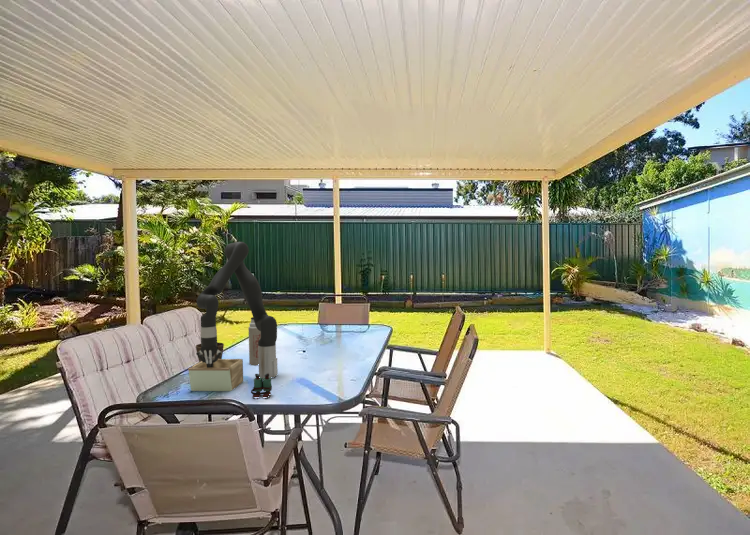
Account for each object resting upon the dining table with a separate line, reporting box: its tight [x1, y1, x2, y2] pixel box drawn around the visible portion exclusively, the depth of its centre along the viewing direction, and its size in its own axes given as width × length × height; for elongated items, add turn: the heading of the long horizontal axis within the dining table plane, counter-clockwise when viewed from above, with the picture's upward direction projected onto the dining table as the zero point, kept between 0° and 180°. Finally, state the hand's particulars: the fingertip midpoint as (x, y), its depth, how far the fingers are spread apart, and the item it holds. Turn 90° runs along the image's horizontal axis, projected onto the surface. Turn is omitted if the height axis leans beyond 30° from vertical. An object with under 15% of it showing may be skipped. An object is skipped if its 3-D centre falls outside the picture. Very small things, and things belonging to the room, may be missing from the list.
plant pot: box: [195, 341, 225, 363], centre depth 281 cm, size 15×15×16 cm
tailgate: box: [187, 367, 233, 392], centre depth 244 cm, size 20×1×12 cm, turn 85°
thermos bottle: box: [248, 316, 261, 366], centre depth 302 cm, size 8×8×28 cm
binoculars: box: [250, 373, 273, 398], centre depth 234 cm, size 9×11×10 cm
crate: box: [191, 358, 244, 391], centre depth 255 cm, size 20×16×12 cm
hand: (210, 370), depth 245 cm, fingers closed
